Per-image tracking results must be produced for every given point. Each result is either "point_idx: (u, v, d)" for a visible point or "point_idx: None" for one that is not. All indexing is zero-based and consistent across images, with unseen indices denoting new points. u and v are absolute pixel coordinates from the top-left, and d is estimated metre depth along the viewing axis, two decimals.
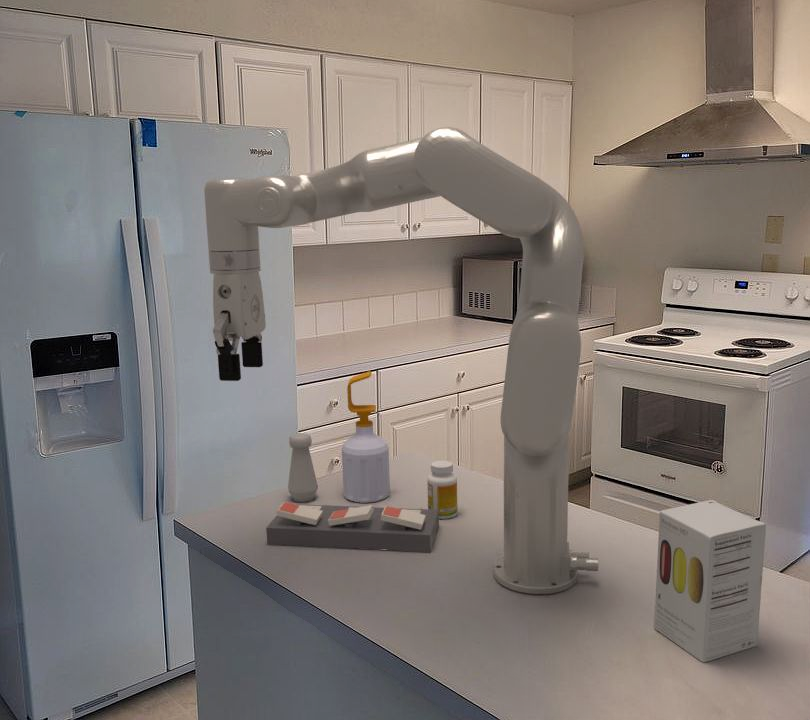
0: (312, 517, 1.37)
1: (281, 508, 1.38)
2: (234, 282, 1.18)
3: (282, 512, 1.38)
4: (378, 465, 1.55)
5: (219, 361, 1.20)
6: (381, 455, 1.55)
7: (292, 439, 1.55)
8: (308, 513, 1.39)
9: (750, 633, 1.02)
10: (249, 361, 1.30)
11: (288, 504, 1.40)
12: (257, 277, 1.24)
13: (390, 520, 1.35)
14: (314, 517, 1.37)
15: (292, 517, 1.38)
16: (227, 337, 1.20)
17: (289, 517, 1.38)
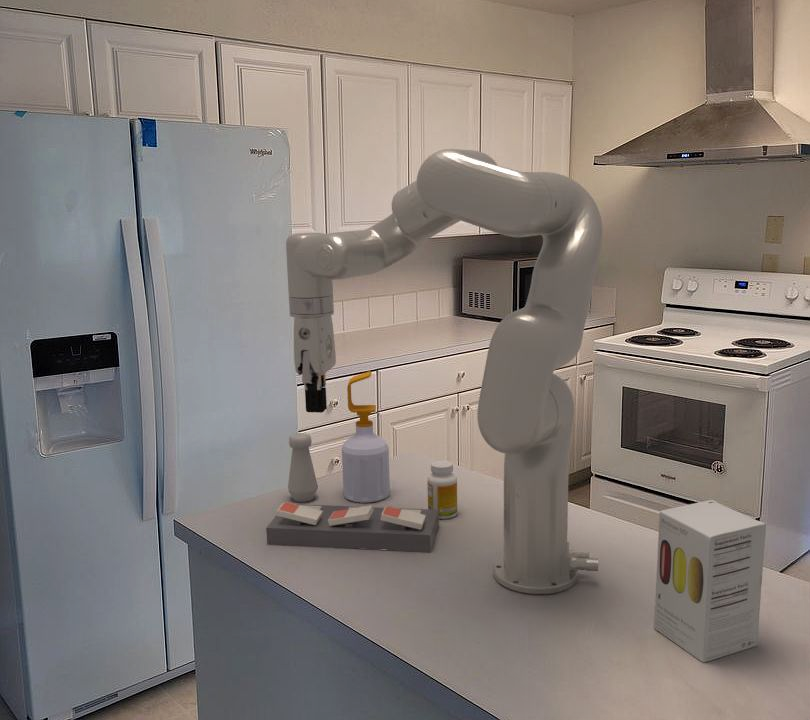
0: (312, 517, 1.37)
1: (281, 508, 1.38)
2: (313, 325, 1.34)
3: (282, 512, 1.38)
4: (378, 465, 1.55)
5: (306, 395, 1.40)
6: (381, 455, 1.55)
7: (292, 439, 1.55)
8: (308, 513, 1.39)
9: (750, 633, 1.02)
10: None
11: (288, 504, 1.40)
12: (330, 319, 1.40)
13: (390, 520, 1.35)
14: (314, 517, 1.37)
15: (292, 517, 1.38)
16: None
17: (289, 517, 1.38)
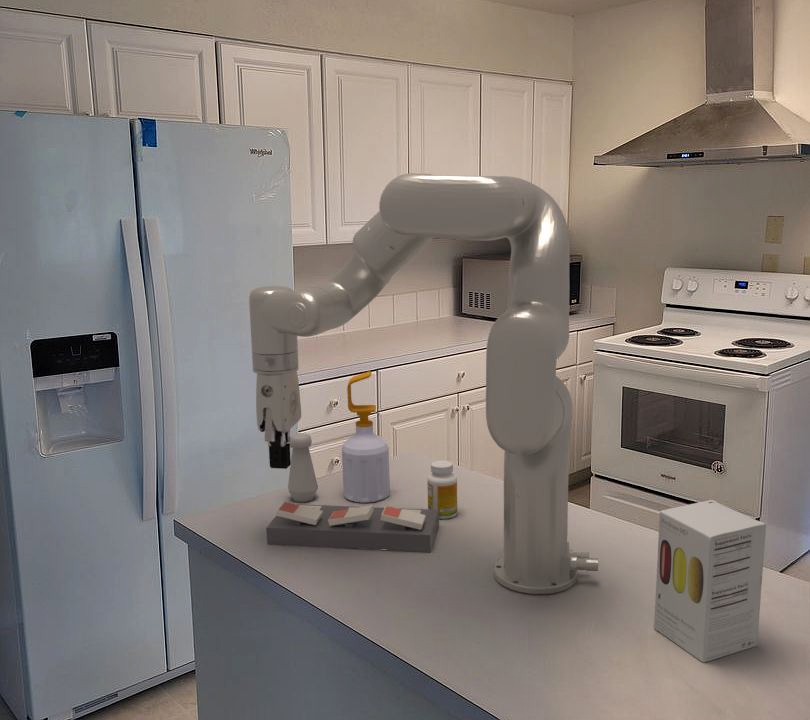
0: (312, 517, 1.37)
1: (281, 508, 1.38)
2: (276, 383, 1.31)
3: (282, 512, 1.38)
4: (378, 465, 1.55)
5: (270, 451, 1.37)
6: (381, 455, 1.55)
7: (292, 439, 1.55)
8: (308, 513, 1.39)
9: (750, 633, 1.02)
10: None
11: (288, 504, 1.40)
12: (295, 373, 1.37)
13: (390, 520, 1.35)
14: (314, 517, 1.37)
15: (292, 517, 1.38)
16: (274, 433, 1.35)
17: (289, 517, 1.38)
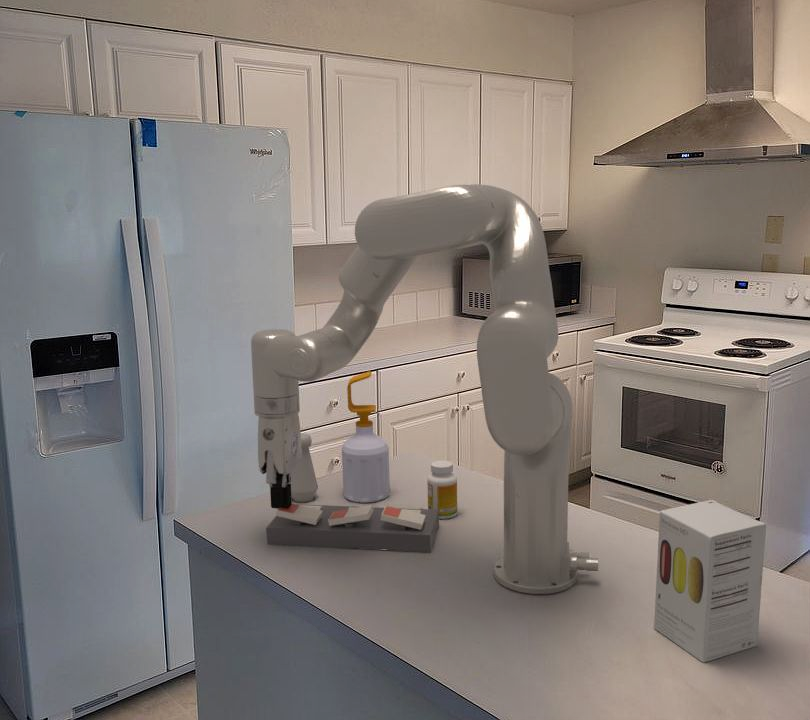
0: (312, 517, 1.37)
1: (281, 508, 1.38)
2: (277, 426, 1.32)
3: (282, 512, 1.38)
4: (378, 465, 1.55)
5: (271, 492, 1.39)
6: (381, 455, 1.55)
7: None
8: (308, 513, 1.39)
9: (750, 633, 1.02)
10: None
11: None
12: (296, 415, 1.38)
13: (390, 520, 1.35)
14: (314, 517, 1.37)
15: (292, 517, 1.38)
16: (275, 474, 1.37)
17: (289, 517, 1.38)
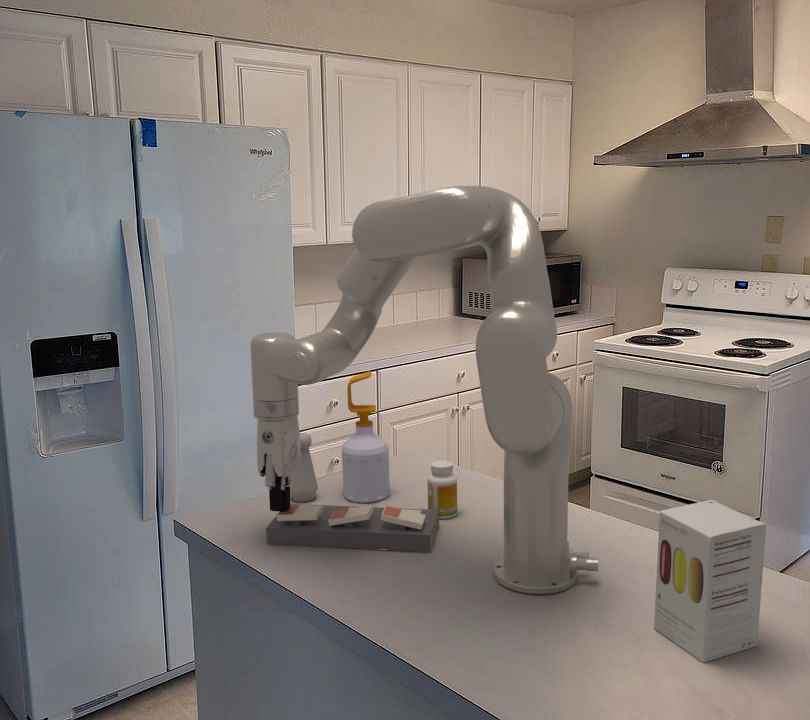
0: (311, 513, 1.37)
1: (280, 513, 1.39)
2: (276, 429, 1.32)
3: (281, 516, 1.38)
4: (378, 465, 1.55)
5: (270, 494, 1.39)
6: (381, 455, 1.55)
7: None
8: (307, 511, 1.39)
9: (750, 633, 1.02)
10: None
11: None
12: (295, 418, 1.38)
13: (390, 520, 1.35)
14: (314, 513, 1.37)
15: (292, 518, 1.38)
16: (274, 477, 1.37)
17: (289, 519, 1.38)
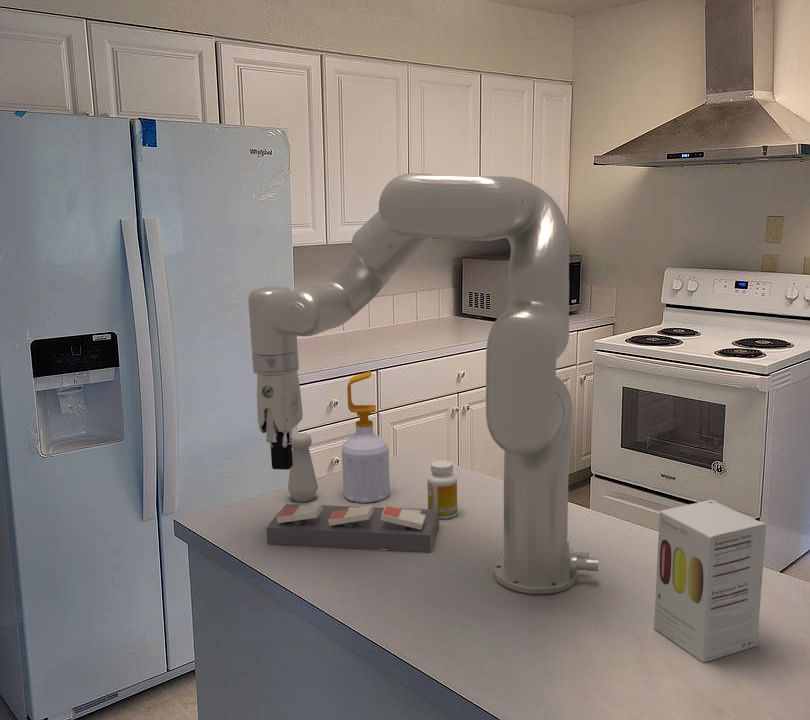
0: (311, 511, 1.37)
1: (280, 515, 1.39)
2: (276, 383, 1.30)
3: (281, 518, 1.38)
4: (378, 465, 1.55)
5: (272, 452, 1.37)
6: (381, 455, 1.55)
7: (292, 439, 1.55)
8: (306, 510, 1.39)
9: (750, 633, 1.02)
10: None
11: (287, 509, 1.41)
12: (295, 374, 1.37)
13: (390, 520, 1.35)
14: (313, 511, 1.37)
15: (292, 519, 1.38)
16: (275, 434, 1.35)
17: (290, 520, 1.38)
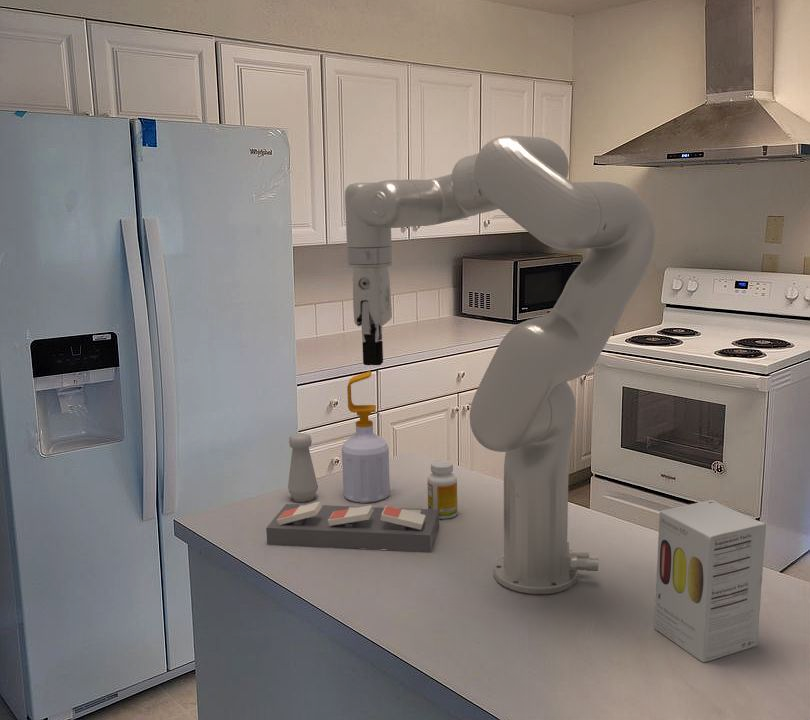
0: (310, 510, 1.37)
1: (280, 516, 1.39)
2: (373, 275, 1.33)
3: (282, 519, 1.38)
4: (378, 465, 1.55)
5: (363, 348, 1.39)
6: (381, 455, 1.55)
7: (292, 439, 1.55)
8: (306, 509, 1.39)
9: (750, 633, 1.02)
10: None
11: (287, 511, 1.41)
12: (387, 271, 1.39)
13: (390, 520, 1.35)
14: (312, 509, 1.37)
15: (292, 519, 1.38)
16: None
17: (290, 520, 1.38)
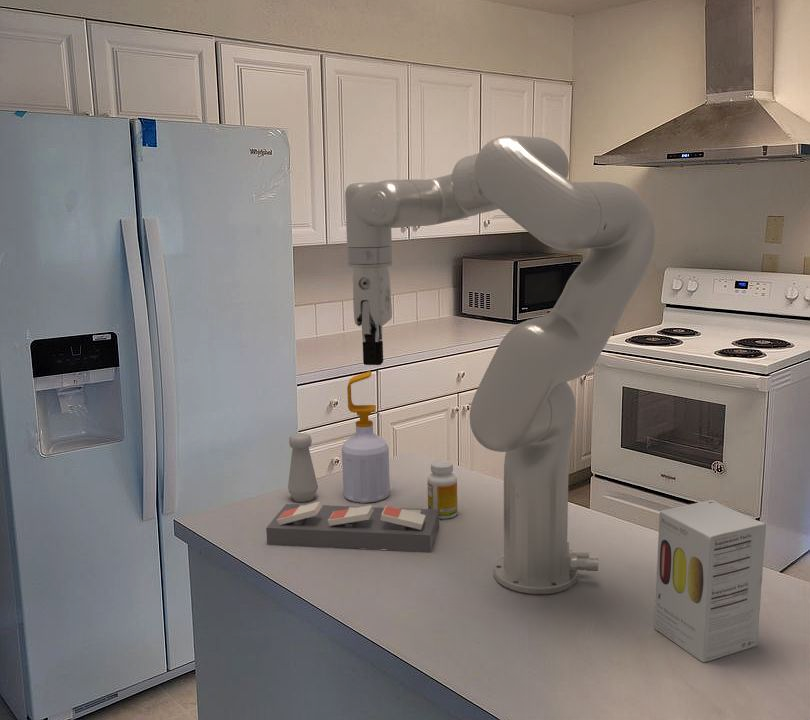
0: (310, 510, 1.37)
1: (280, 516, 1.39)
2: (373, 275, 1.33)
3: (282, 519, 1.38)
4: (378, 465, 1.55)
5: (364, 348, 1.39)
6: (381, 455, 1.55)
7: (292, 439, 1.55)
8: (306, 509, 1.39)
9: (750, 633, 1.02)
10: None
11: (287, 511, 1.41)
12: (388, 271, 1.39)
13: (390, 520, 1.35)
14: (312, 509, 1.37)
15: (292, 519, 1.38)
16: None
17: (290, 520, 1.38)
